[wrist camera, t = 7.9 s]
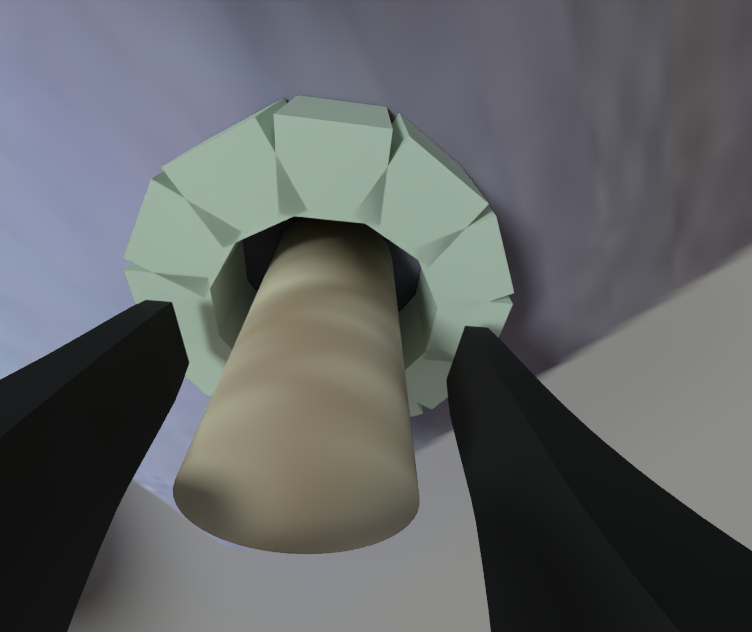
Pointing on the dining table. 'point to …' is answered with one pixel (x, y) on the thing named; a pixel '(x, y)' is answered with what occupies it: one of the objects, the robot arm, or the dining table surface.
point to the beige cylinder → (310, 406)
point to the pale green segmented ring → (321, 201)
